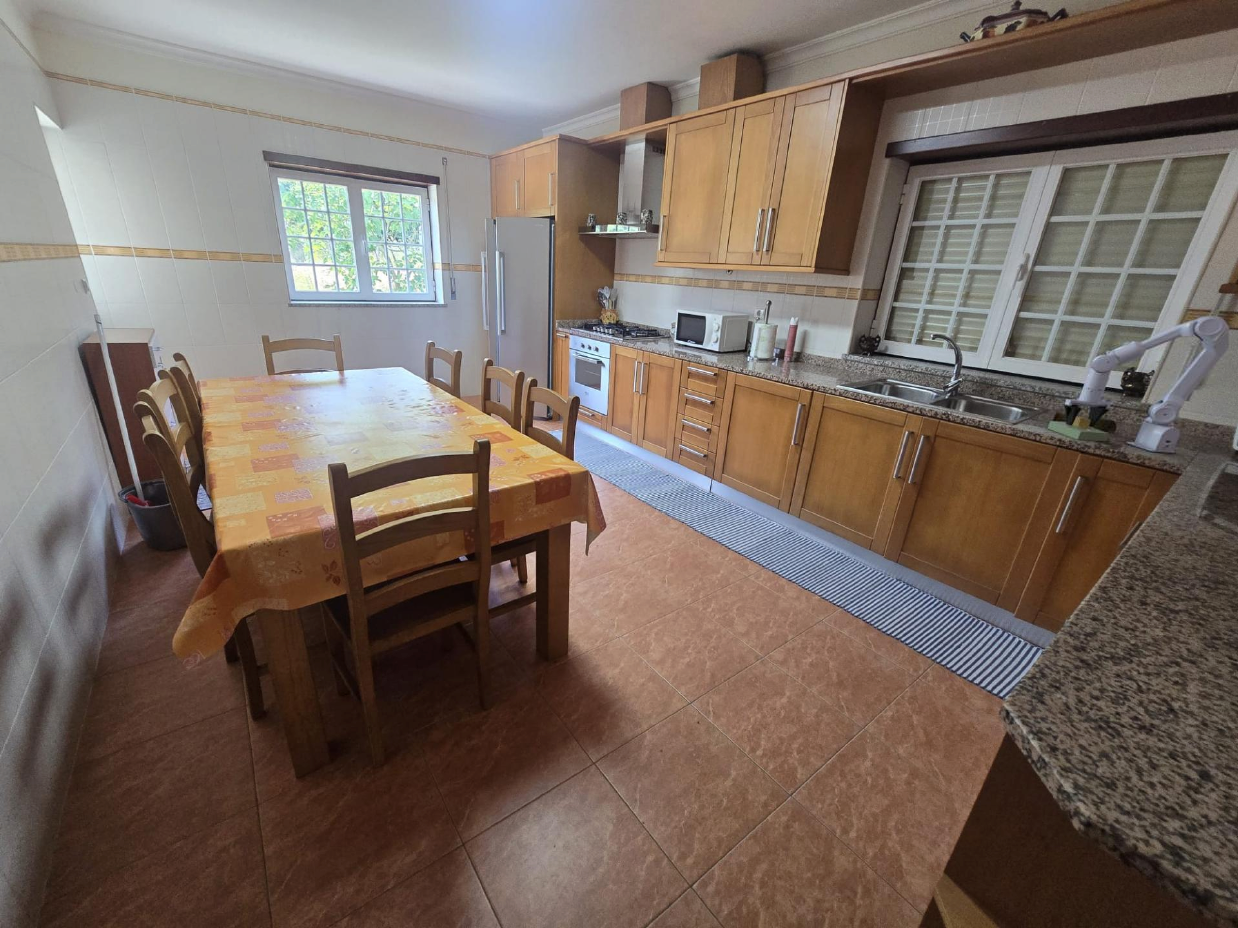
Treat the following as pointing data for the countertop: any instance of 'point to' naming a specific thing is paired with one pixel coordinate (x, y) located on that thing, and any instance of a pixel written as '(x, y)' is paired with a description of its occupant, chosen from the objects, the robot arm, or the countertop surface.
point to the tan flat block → (1081, 422)
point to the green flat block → (1078, 431)
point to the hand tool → (1099, 425)
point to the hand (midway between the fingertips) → (1079, 425)
